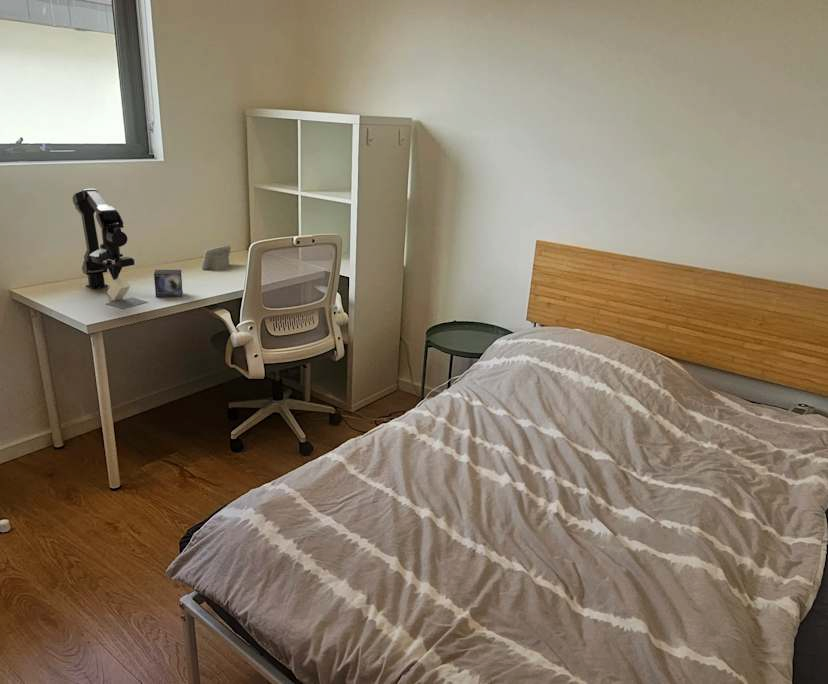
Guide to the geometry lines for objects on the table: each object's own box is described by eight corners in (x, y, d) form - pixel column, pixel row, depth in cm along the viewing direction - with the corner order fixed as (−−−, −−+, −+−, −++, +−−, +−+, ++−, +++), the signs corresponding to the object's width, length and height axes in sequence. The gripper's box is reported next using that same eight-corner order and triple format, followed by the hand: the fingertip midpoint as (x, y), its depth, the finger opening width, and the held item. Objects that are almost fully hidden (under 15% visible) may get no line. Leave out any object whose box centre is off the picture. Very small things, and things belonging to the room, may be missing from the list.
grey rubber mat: (105, 304, 243) (105, 303, 243) (131, 297, 253) (131, 297, 253) (122, 309, 238) (122, 308, 238) (148, 302, 248) (148, 301, 248)
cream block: (106, 293, 247) (114, 279, 242) (116, 290, 250) (124, 277, 245) (112, 301, 246) (120, 288, 241) (122, 299, 250) (130, 286, 245)
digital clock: (225, 263, 314) (225, 243, 310) (236, 267, 309) (235, 246, 305) (197, 268, 302) (196, 247, 298) (208, 272, 297) (207, 250, 293)
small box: (155, 297, 255) (153, 273, 251) (156, 293, 260) (154, 269, 257) (182, 297, 258) (180, 273, 254) (183, 292, 263) (181, 269, 260)
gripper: (76, 240, 237) (81, 279, 242) (108, 248, 229) (112, 288, 234) (102, 237, 246) (106, 274, 251) (133, 243, 238) (137, 282, 243)
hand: (115, 279), depth 245 cm, fingers closed
